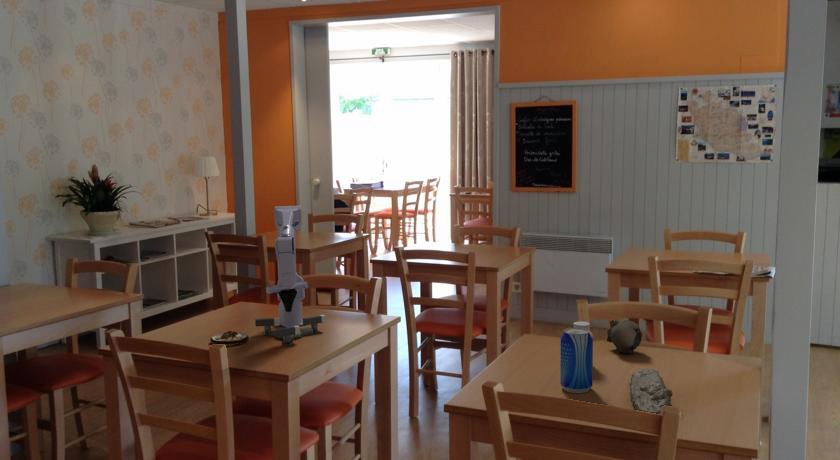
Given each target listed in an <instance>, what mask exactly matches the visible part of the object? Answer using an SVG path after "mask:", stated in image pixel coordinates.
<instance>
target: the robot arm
mask: <svg viewBox="0 0 840 460" xmlns="http://www.w3.org/2000/svg"><path fill="white" fill-rule="evenodd" d="M302 213H303V211H302V206H301V205H300V204H299V205H285V206H284V205H282V206H281V205H279V206H278V205H275V207H274V208H273V217H274V218H273V219H274V223H275V228H276V230H277V238H276V239H274V240H275V241H274V243H275V244H274V248H275V254H276V260H277V276H278V277H277V278H278V280H277V284H276V285H272V286H271V285H270V286H267V287H265V291H266V292H265V293H266V294H268V295H271V294H274V293H277V294H276V295H277V300H278V301H280V302H279V303H278V307H277V308H278V309H277V310H278V318H279V326H283V328H285V327H292V326H297V325H298V326H300V327H301V326H304V325H303V311H302V310H303V309H302V308H303V307H302V300H304V299H305V296H306V295H305V289H309V283H308V282H307V281H305V280H304V278H303V277H301V276H300V275H299V274H297V255H296V251H297V249H296V234H297V231H298V230H300V229H302V224H303V222H302V217H303V216H302V215H303V214H302Z"/></svg>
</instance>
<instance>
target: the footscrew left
mask: <svg viewBox="0 0 840 460" xmlns="http://www.w3.org/2000/svg"><path fill="white" fill-rule="evenodd" d="M302 321H303V325H302V326H309V325H310V326H311V327H310V328H313V331H318V330H319V329H318V327H319V326H318V324H323V323H327V316H326V314H319V315H313V316H306V317H302Z"/></svg>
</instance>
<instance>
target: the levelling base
mask: <svg viewBox="0 0 840 460" xmlns="http://www.w3.org/2000/svg"><path fill="white" fill-rule="evenodd" d="M275 329H277V327H273V328H271V330H268V333H265V332H262V335H263V336H270V337H276V336H275ZM320 332H321V331H320V330H319V329H318V331H313V328H311V327H310V326H305V327H300V334H296V335H291V343H284V336H282V337H276V338H277V339H278V340H281V341H283V342H282V343H281V344H282V345H283V346H292V345H294V340H299V339H301V338H303V337H304V336H306V335H307V336H308V335H313V334H318V333H320Z"/></svg>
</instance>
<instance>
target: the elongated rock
mask: <svg viewBox="0 0 840 460" xmlns="http://www.w3.org/2000/svg"><path fill="white" fill-rule="evenodd" d="M628 385H629V387H630V394H629V395H630V402H631V403H632V405H633V406H634V408H635V411H636V410H639V411H644V412H650V413H656V414H660V413H661V409H662V406H664V405H666V406H672V407H673V405H672V397H673V396H674V395H673V394H674V393H673V391H672V390H671V389H667V388H666V386H665V382H664V380H663V377H661V376H660V373H659V371H658V370H657V371H656V370H655V369H653V368H646V367H645V368H639V369H637V370H635V371H634V372H632V374H631V377H630V382H629V384H628Z"/></svg>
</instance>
